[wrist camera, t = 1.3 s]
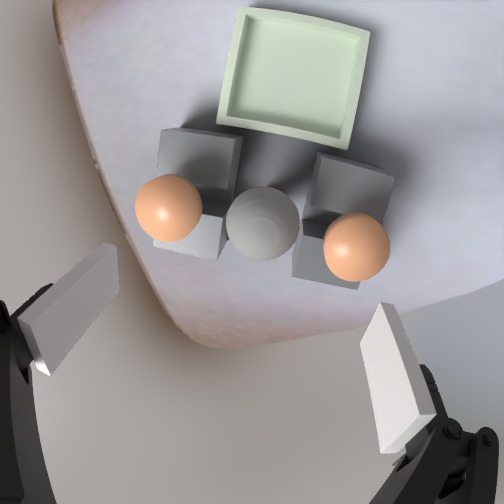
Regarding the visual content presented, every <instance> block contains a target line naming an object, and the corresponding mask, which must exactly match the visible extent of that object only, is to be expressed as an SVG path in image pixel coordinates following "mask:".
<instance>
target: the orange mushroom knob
mask: <svg viewBox="0 0 504 504" xmlns="http://www.w3.org/2000/svg"><path fill="white" fill-rule="evenodd" d="M323 251H324V255H325V260H326V263H327V266H328V268H329V269H330V270H331V272H332V273H333V274H334V275H336V276H337V277H339V278H341V279H343V280H346V281H352V282H357V281H363V280H366V279H369V278H371V277H373V276H374V275H376V274H377V273H378V272H379V271H380V270H381V269H382V268H383V267H384V266H385V264H386V262H387V260H388V258H389V254H390V241H389V238H388V235H387V234H386V232H385V230H384V229H383V228H382V226H381V225H380V224H379V223H378V221H377V220H376V219H374V218H373V217H371V216H370V215H367V214H364V213H357V212H355V213H348V214H345V215H342V216H340V217H339V218H337V219H336V220H335V221H333V222H332V223H331V224H330V226H329V227H328V228H327V230H326V232H325V235H324V238H323Z"/></svg>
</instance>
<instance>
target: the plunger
mask: <svg viewBox="0 0 504 504" xmlns="http://www.w3.org/2000/svg"><path fill="white" fill-rule="evenodd" d="M135 210H136V215H137V219H138V221H139V223H140V225H141V226H142V228H143V229H144V230H145V232H147V233H148V234H149V235H150V236H151V237H153V238H155V239H157V240H159V241H163V242H176V241H179V240H182V239H183V238H185V237H186V236H187V235H188V234H189V233H190V232H191V231H192V230H193V229H194V227H195V226H196V225H197V224H198V222H199V220H200V218H201V215H202V200H201V197H200V194H199V192H198V190H197V189H196V187H195V186H194V185H193V184H192V183H191V182H190V181H189V180H188V179H186V178H184V177H182V176H180V175H176V174H165V175H161V176H159V177H157V178H155V179H153V180H151V181H149V182H148V183H146V184H145V185H144V186H143V187H142V188H141V189H140V191H139V193H138V195H137V198H136V203H135Z"/></svg>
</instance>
